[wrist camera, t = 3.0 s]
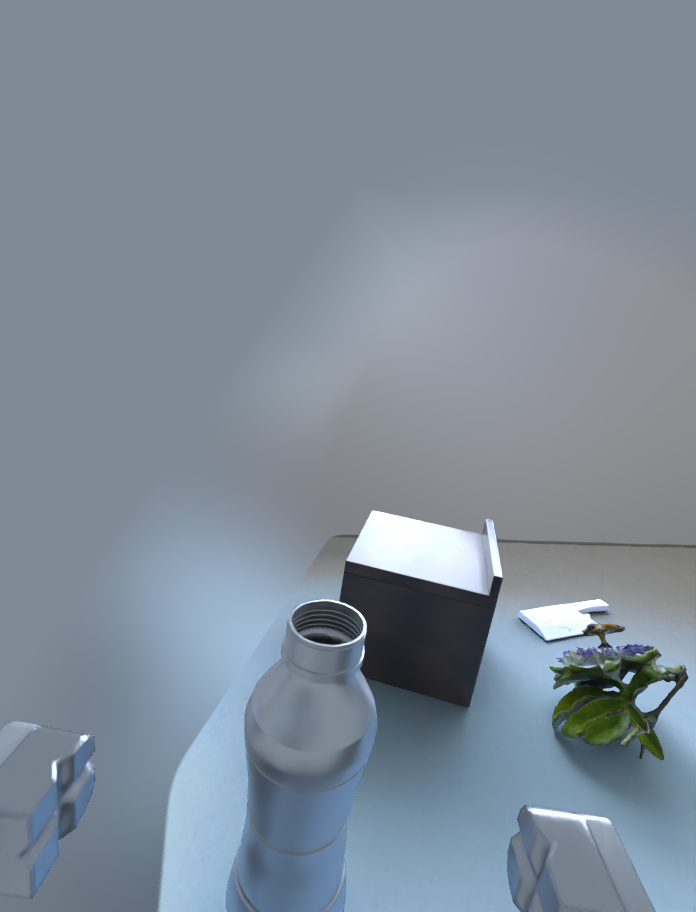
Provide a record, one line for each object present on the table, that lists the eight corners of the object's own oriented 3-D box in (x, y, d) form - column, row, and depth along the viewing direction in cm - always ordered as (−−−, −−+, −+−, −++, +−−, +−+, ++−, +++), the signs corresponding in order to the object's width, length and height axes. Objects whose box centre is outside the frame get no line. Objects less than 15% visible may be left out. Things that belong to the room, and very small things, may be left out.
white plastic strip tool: (629, 626, 63) (631, 619, 63) (545, 641, 57) (547, 633, 57) (597, 603, 68) (599, 596, 67) (516, 615, 62) (518, 608, 61)
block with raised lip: (328, 667, 48) (348, 541, 44) (357, 595, 61) (374, 494, 57) (469, 707, 45) (503, 578, 41) (467, 624, 58) (492, 520, 55)
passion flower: (566, 734, 51) (622, 638, 52) (670, 817, 41) (734, 695, 43) (506, 693, 46) (568, 590, 48) (605, 774, 36) (679, 640, 38)
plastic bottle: (360, 950, 26) (429, 648, 21) (243, 1030, 23) (290, 690, 17) (309, 839, 32) (354, 574, 26) (207, 891, 28) (235, 596, 23)
